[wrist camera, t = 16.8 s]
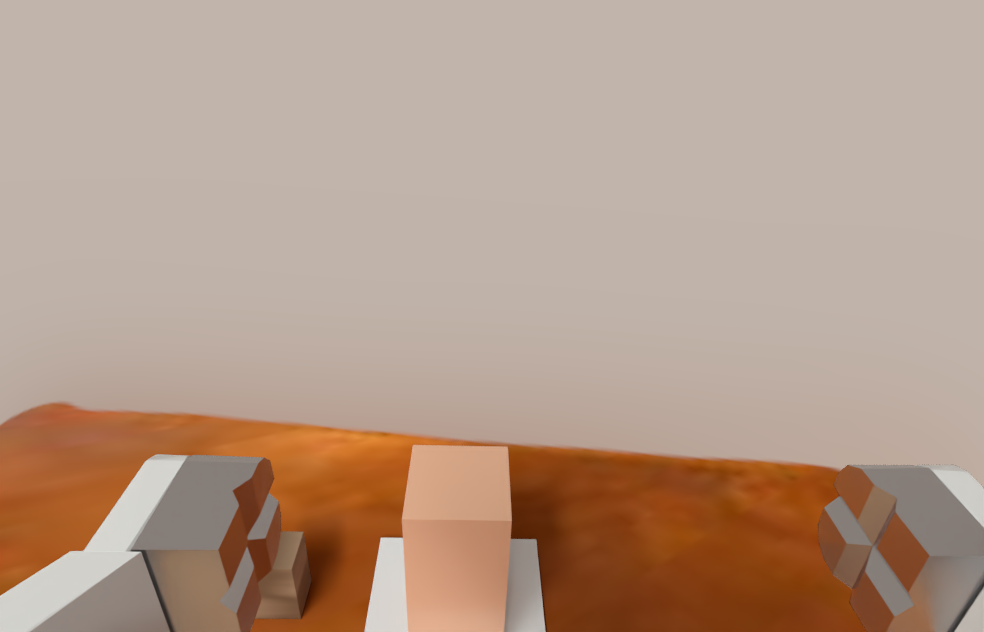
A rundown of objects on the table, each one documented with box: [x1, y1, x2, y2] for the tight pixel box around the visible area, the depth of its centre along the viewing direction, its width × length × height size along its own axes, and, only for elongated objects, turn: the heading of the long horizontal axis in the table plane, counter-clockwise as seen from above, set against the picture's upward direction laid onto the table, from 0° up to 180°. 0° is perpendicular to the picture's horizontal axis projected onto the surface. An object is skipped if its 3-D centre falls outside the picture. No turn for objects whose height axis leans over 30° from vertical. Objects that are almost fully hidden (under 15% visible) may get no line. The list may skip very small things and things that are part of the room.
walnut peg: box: [256, 532, 312, 619], centre depth 41 cm, size 3×3×5 cm
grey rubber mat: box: [364, 538, 546, 632], centre depth 42 cm, size 12×12×1 cm
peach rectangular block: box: [402, 445, 512, 632], centre depth 39 cm, size 6×6×12 cm
